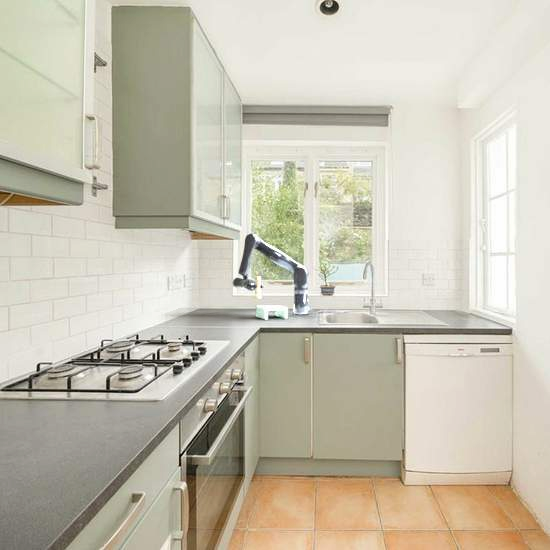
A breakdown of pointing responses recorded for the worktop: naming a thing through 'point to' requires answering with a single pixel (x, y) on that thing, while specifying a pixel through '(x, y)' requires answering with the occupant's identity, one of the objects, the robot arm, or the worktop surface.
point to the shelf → (263, 310)
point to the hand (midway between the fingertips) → (259, 286)
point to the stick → (258, 289)
